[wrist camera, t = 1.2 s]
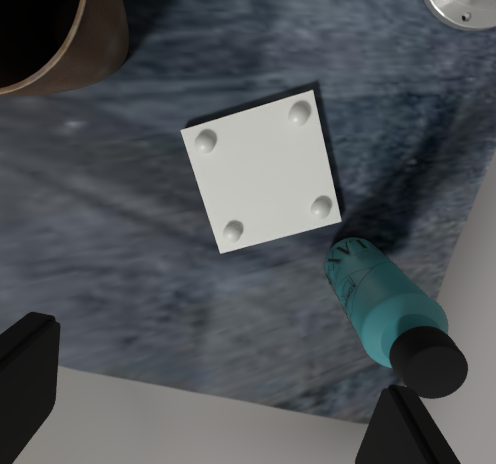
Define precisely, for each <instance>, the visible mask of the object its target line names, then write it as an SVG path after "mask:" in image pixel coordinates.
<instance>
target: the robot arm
mask: <svg viewBox="0 0 496 464" xmlns="http://www.w3.org/2000/svg"><path fill="white" fill-rule="evenodd" d="M424 2H425V4H426V6H427V7H428V8H429V9H430V11H431V12H432V13H433V14H434V16H436V17H437V18H438V19H439V20H441V21H442V22H443V23H445V24H447V25H449V26H451V27H453V28H455V29H460V30H464V31H481V30H486V29H491V28H494V27H496V0H424ZM462 18H463V20H462ZM59 340H60V324H59V323H58V322H56V321H55V317H54V316H52V315H47V314H42V313H37V312H30V313H28V314H27V315H26V316H24V317H23V318H22V319H20V320H19V321H18V322H16V323H15V324H14V325H12V326H11V327H10V328H8V329H7V330H6V331H4V332H3V333H2V334H1V335H0V464H12V463H13V462H14V461H15V459H16V458H17V457H18V455H19V454H20V453H21V451H22V450H23V449H24V447H25V446H26V445H27V443H28V442H29V440H30V439H31V438H32V437H33V435H34V434H35V433H36V432H37V430H38V429H39V428H40V426H41V425H42V424H43V422H44V421H45V420H46V418H47V417H48V416H49V414H50V413H51V411H52V409H53V407H54V404H55V400H56V386H57V371H58V355H59ZM355 464H460V462H459V460H458V459H457V457H456V456H455V454H454V452H453V451H452V449H451V447H450V446H449V444H448V443H447V441H446V440H445V438H444V436H443V435H442V433H441V431H440V430H439V428H438V427H437V425H436V424H435V422H434V420H433V419H432V417H431V415H430V414H429V412H428V411H427V409H426V407H425V406H424V404H423V403H422V401H421V400H420V398H419V396H418V395H417V393H416V392H415V390H414V389H412V388H408V387H403V386H398V385H394V384H393V385H390V386H389V387H388V389H386V388H385V389H383V390H382V392H381V395H380V397H379V400H378V402H377V405H376V408H375V410H374V413H373V415H372V418H371V420H370V423H369V425H368V428H367V431H366V433H365V436H364V438H363V441H362V443H361V446H360V449H359V451H358V454H357V457H356V460H355Z"/></svg>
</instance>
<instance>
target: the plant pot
mask: <svg viewBox="0 0 496 464" xmlns="http://www.w3.org/2000/svg"><path fill="white" fill-rule="evenodd" d="M128 49H129V29H128V22H127V16H126V11H125V7H124V3H123V0H0V96H30V95H43V94H51V93H59V92H64V91H70V90H74V89H78V88H82V87H85V86H89V85H91V84H94V83H96V82H99V81H101V80H103V79H105V78H107V77H109V76H110V75H112V74H113V73H114V72H116V71H117V70H118V69H119V68H120V67H121V66H122V64H123V63H124V61H125V59H126V57H127V54H128Z"/></svg>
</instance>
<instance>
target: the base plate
mask: <svg viewBox="0 0 496 464" xmlns="http://www.w3.org/2000/svg"><path fill="white" fill-rule="evenodd" d="M181 133H182V136H183V139H184V142H185V146H186V149H187V152H188V155H189V158H190V161H191V164H192V167H193V170H194V173H195V177H196V180H197V183H198V186H199V189H200V192H201V195H202V198H203V201H204V204H205V208H206V211H207V214H208V217H209V220H210V223H211V226H212V229H213V232H214V235H215V239H216V242H217V245H218V248H219V251H220V254H221V253H224V252H228V251H232V250H236V249H240V248H243V247H247V246H251V245H255V244H258V243H262V242H266V241H270V240H274V239H277V238H281V237H285V236H289V235H292V234H296V233H300V232H304V231H307V230H311V229H315V228H319V227H323V226H326V225H330V224H334V223H338V222H341V217H340V212H339V208H338V203H337V199H336V194H335V189H334V185H333V180H332V176H331V171H330V166H329V162H328V157H327V153H326V148H325V143H324V139H323V134H322V130H321V125H320V120H319V116H318V111H317V107H316V102H315V98H314V93H313V90H311V91H308V92H304V93H301V94H298V95H295V96H291V97H288V98H285V99H281V100H278V101H275V102H272V103H268V104H265V105H262V106H258V107H255V108H252V109H249V110H245V111H242V112H239V113H235V114H232V115H229V116H226V117H222V118H219V119H216V120H213V121H209V122H206V123H203V124H199V125H196V126H193V127H190V128H186V129H183V130H181Z"/></svg>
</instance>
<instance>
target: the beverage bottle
mask: <svg viewBox="0 0 496 464" xmlns="http://www.w3.org/2000/svg"><path fill="white" fill-rule="evenodd" d="M364 239H365V238H364ZM364 239H362V238H361V237H360V238H352V237H351V238H346V239H344V240H341V241H339V242H338V243H336V244H335V245H334V246H333V247H332V248H331V249H330V250H329V252H328V254H327V257H326V258H325V259H326V261H325V262H324V263H325V271H326V276H327V278H328V280H329V281H328V282H329V284H331V285H332V286H333V288H334V289H333V290H335V291H334V292H336V295H338V296H337V297H338V298H339V301H341V303H342V304H341V305H343V307H344V309H345V310H344V311H345V312H346V315H347V314H348V316H349V318H350V320H351V323H352V324H353V326H354V327H355V329H356V331H357V333H358V335H359V337H360V338H361V341H362V344H363V346H364V348H365V350H366V352H367V353H368V354H369V356H370V357H371V358H372V359H374V360H375V361H376V362H378V363H380V364H381V365H384V366H386V367H390V368H393V370H394V372H395V373H396V375H397V376H398V377H399V378H400V379H401V380H402V381H403V383H404V384H405V385H406V387H408V388H412V389H414V390H415V392H416V393H417V395H418V396H420V397H423V398H430V399H435V398H441V397H445V396H447V395H450V394H452V393H453V392H455V391H456V390H457V389H458V388H459V387H460V386H461V385H462V384H463V383H464V381H465V379H466V376H467V372H468V364H467V361H466V359H465V357H464V355H463V353H462V352H461V351H460V350H459V349H458V347H457V346H456V345H455V343H454V342H453V340H452V339H451V338H450V337H449V336H448V321H447V317H446V314H445V312H444V310H443V309H442V307H441V306H440V305H439V304H438V303H437V302H436V301H435V300H434V299H432V298H431V297H429V296H428V295H427V294H426V293H425V292H424V291H423V290H421V289H420V288H419V287H418V286H417V285H416V284H415V283H414V282H413V281H412V280H411V279H409V278H408V277H407V276H406V275H405V274H404V273H403V272H402V271H401V270H402V269H401V270H400V269H399V268H398V267H397V266H396V265H395V264H396V263H393V261H391V260H390V259H388V258H389V257H388V256H386V255H384V254H383V253H382V251H381V250H380V248H377V247H376V246H375V245H374V244H373V243H371V242H369V241H370V240H369V241H367V240H366V239H365V240H364ZM380 251H381V252H380ZM398 266H399V265H398ZM343 307H342V308H343ZM345 312H344V313H345ZM353 329H354V328H353Z"/></svg>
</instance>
